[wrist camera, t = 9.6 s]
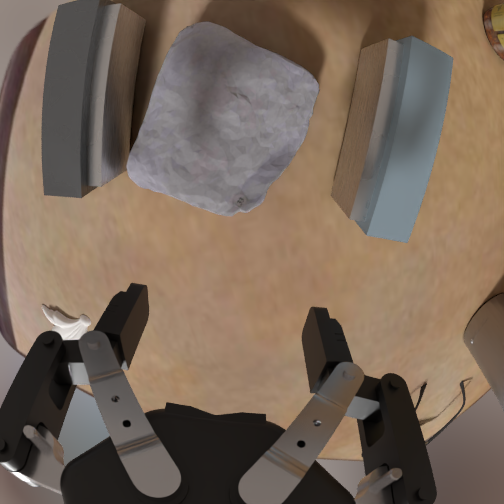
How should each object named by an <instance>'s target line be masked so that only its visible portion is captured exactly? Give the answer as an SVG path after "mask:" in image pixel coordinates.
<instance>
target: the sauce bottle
mask: <svg viewBox="0 0 504 504" xmlns="http://www.w3.org/2000/svg"><path fill="white" fill-rule="evenodd" d="M483 18H484V25H485V30H486V34H487V37H488V39H489V41H490V44H491V45H492V47H493V48H494V50H495V52H496V53H497V54H498V55H499V56H500V58H502V59H503V60H504V3H503V4H499V5H495V6H494V7H493V8H490V9H488V10H487V11H486V12H485V14H484V16H483Z"/></svg>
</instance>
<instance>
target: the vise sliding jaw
mask: <svg viewBox="0 0 504 504" xmlns="http://www.w3.org/2000/svg"><path fill="white" fill-rule="evenodd" d="M452 65H453V57H451V56H449V55H448V54H446V53H444V52H442V51H441V50H439V49H437V48H435V47H433V46H431V45H429V44H428V43H426V42H424V41H422V40H420V39H418V38H416V37H414V36H409V37H406V38H403V39H400V40H396V41H394V40H392V39H389V38H388V39H386V40H383V41H380V42H378V43H375V44H372V45H370V46H367V47H365V48H362V49H361V52H360V58H359V64H358V70H357V76H356V81H355V87H354V92H353V97H352V102H351V108H350V113H349V117H348V122H347V127H346V132H345V136H344V141H343V145H342V150H341V154H340V158H339V163H338V167H337V171H336V175H335V179H334V183H333V187H332V191H331V197H332V198H333V199H334V200H335V202H336V203H337V204H338V205H339V207H340V208H341V209H342V210H343V212H344V213H345V214H346V215H347V217H348V218H349V219H351V220H355V221H356V223H357V224H358V225H359V226H360V228H361V229H362V230H363V232H364V233H365V234H366V235H367V236H372V237H378V238H383V239H389V240H394V241H400V242H405V243H407V242H408V240H409V237H410V235H411V232H412V229H413V226H414V224H415V221H416V218H417V215H418V212H419V209H420V206H421V203H422V200H423V197H424V194H425V191H426V187H427V184H428V181H429V177H430V174H431V170H432V167H433V163H434V159H435V156H436V152H437V148H438V144H439V139H440V135H441V131H442V126H443V121H444V116H445V111H446V106H447V100H448V94H449V88H450V81H451V74H452Z"/></svg>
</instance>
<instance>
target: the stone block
mask: <svg viewBox="0 0 504 504" xmlns="http://www.w3.org/2000/svg"><path fill="white" fill-rule="evenodd" d="M318 93H319V84H318V83H317V81H316V79H315V78H314V76H313V75H312V74H311V73H310V72H309V71H308V70H306V69H305V68H303V67H302V66H300V65H298V64H296V63H294V62H293V61H291V60H289V59H287V58H285V57H283V56H281V55H279V54H277V53H275V52H271V51H269V50H268V49H264V48H261V47H259V46H256V45H254V44H253V43H251V42H249V41H248V40H246V39H244V38H243V37H241V36H239V35H237V34H235V33H233V32H232V31H230V30H229V29H227V28H225V27H223V26H220V25H218V24H214V23H211V22H208V21H207V22H200V23H195V24H193V25H191V26H187V27H186V28H185V29H183V30H182V31H180V32H179V34H178V36H177V38H176V40H175V41H174V43H173V44H172V46H171V48H170V50H169V51H168V53H167V55H166V58H165V60H164V63H163V65H162V68H161V70H160V72H159V74H158V77H157V80H156V82H155V85H154V88H153V91H152V95H151V99H150V102H149V106H148V109H147V112H146V115H145V118H144V121H143V123H142V126H141V128H140V130H139V134H138V137H137V139H136V141H135V143H134V145H133V147H132V149H131V151H130V154H129V158H128V161H127V165H126V167H127V171H128V176H129V177H130V178H131V180H133V181H134V182H135V183H136V184H137V185H138V186H140V187H142V188H144V189H150V190H152V191H154V192H160V193H163V194H166V195H169V196H171V197H174V198H176V199H178V200H181V201H184V202H186V203H189V204H191V205H192V206H195V207H199V208H202V209H205V210H207V211H210V212H213V213H215V214H218V215H224V216H233V215H234V214H236V213H237V212H239V211H240V212H244V213H247V212H249V211H251V210H252V209H253V208H255V207H257V206H259V205H260V204H261V203H262V202H263V201H264V199H265V196H266V193H267V190H268V188H269V186H270V185H271V184H272V183H273V182H274V181H275V180H277V179H278V178H279V177H280V175H281V174H282V173H283V171H284V170H285V169H286V168H287V166H288V165H289V164H290V162H291V161H292V159H293V157H294V156H295V154H296V151H297V150H298V149H299V147H300V146H301V144H302V143H303V141H304V139H305V137H306V134H307V130H308V126H309V119H310V118H311V116H312V115H313V106H314V103H315V101H316V98H317V95H318Z"/></svg>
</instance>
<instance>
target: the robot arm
mask: <svg viewBox="0 0 504 504" xmlns="http://www.w3.org/2000/svg"><path fill="white" fill-rule="evenodd" d="M148 317H149V303H148V290H147V286H146V285H142V284H136V283H131V284H130V286H129V288H128V289H127V291H126V292H123V291H120V292H119V293H118V294H116V295H115V296H114V297H113V298H112V300H111V301H110V303H109V305H108V306H107V308H106V311H104V313H103V315H102V316H101V318H100V320H99V322H98V323H97V325H96V327H95V329H94V330H93V331H89V332H87V333H85V334H83V335H82V336H81V337H80V339H79V340H63V339H62V336H61V335H60V334H59V333H58V332H56V331H46V332H43V333H42V334H40V335H39V336H38V337H37V339H36V341H35V342H34V344H33V346H32V347H31V349H30V351H29V353H28V354H27V356H26V358H25V360H24V362H23V364H22V365H21V367H20V369H19V371H18V373H17V375H16V377H15V379H14V381H13V383H12V385H11V387H10V389H9V391H8V393H7V395H6V397H5V400H4V402H3V404H2V406H1V408H0V464H1V465H2V466H3V467H4V468H5V469H6V470H7V471H9V472H10V473H12V474H13V475H14V476H16V477H17V478H19V479H21V480H23V481H25V482H26V483H28V484H29V485H31V486H34V487H39V486H43V487H45V488H48V489H50V490H52V491H54V492H57V493H60V494H62V496H63V500H64V504H433V503H434V501H435V499H436V495H437V492H436V486H435V481H434V477H433V473H432V468H431V464H430V460H429V456H428V453H427V449H426V445H425V442H424V438H423V434H422V431H421V428H420V424H419V421H418V418H417V414H416V411H415V408H414V405H413V402H412V399H411V396H410V393H409V390H408V387H407V384H406V382H405V380H404V379H403V378H402V377H400V376H399V375H397V374H393V373H388V374H385V375H384V376H383V377H382V378H381V379H377V378H373V377H369V376H366V375H364V372H363V370H362V369H361V368H360V367H359V366H358V365H356V364H354V363H353V360H352V357H351V354H350V351H349V348H348V345H347V342H346V339H345V336H344V333H343V330H342V327H341V325H340V324H339V323H338V322H337V320H336V319H331V318H330V317H329V313H328V310H327V308H321V307H311V308H310V310H309V313H308V316H307V319H306V322H305V325H304V328H303V332H302V345H303V350H304V356H305V362H306V368H307V374H308V381H309V387H310V393H315V395H314V396H313V397H312V398H311V400H310V401H309V402H308V404H307V405H306V406H305V408H304V409H303V410H302V411H301V413H300V414H299V415H298V416H297V418H296V419H295V420H294V421H293V422H292V424H291V425H290V426H289V427H288V428H287V430H285V429H283V428H282V427H280V426H278V425H276V424H274V423H272V422H269V421H266V414H256V413H243V412H241V413H233V414H224V415H213V414H210V413H207V412H205V411H202V410H199V409H196V408H194V407H191V406H185V405H179V404H174V403H168V402H167V403H166V407H165V409H157V410H153V411H149V412H146V413H144V412H143V410H142V408H141V407H140V405H139V403H138V401H137V399H136V397H135V395H134V393H133V391H132V389H131V387H130V384H129V382H128V380H127V378H126V376H125V374H124V372H123V370H122V369H124V370H128V369H129V367H130V364H131V361H132V359H133V356H134V354H135V351H136V348H137V346H138V343H139V341H140V338H141V336H142V333H143V331H144V328H145V326H146V324H147V321H148ZM464 342H465V344H466V346H467V347H468V349H469V351H470V352H471V354H472V355H473V357H474V359H475V360H476V362H477V364H478V366H479V367H480V369H481V371H482V372H483V374H484V376H485V378H486V379H487V381H488V383H489V385H490V386H491V388H492V390H493V392H494V394H495V395H496V397H497V399H498V401H499V403H500V405H501V407H502V409H503V411H504V294H500V295H497V296H495V297H493V298H492V299H490V300H489V301H488V302H487V303H486V304H484V305H483V306H482V307H481V308H480V309H479V310H478V312H477V313H476V314H475V315H474V317H473V318H472V320H471V321H470V323H469V324H468V326H467V328H466V331H465V334H464ZM77 385H90V386H91V389H92V392H93V395H94V397H95V400H96V403H97V405H98V408H99V410H100V413H101V415H102V418H103V420H104V423H105V425H106V428H107V430H108V432H109V434H110V436H109V437H108V438H106V439H105V440H103V441H102V442H100V443H98V444H97V445H95V446H94V447H92V448H91V449H89V450H88V451H86V452H85V453H83V454H81V455H80V456H78V457H76V458H75V459H73V460H72V461H70V462H69V463H68V464H67V465H66V466H65V465H64V461H63V457H64V451H63V447H62V445H61V444H60V443H59V442H58V437H59V434H60V431H61V428H62V425H63V422H64V419H65V416H66V413H67V410H68V408H69V405H70V402H71V399H72V397H73V394H74V391H75V389H76V386H77ZM344 416H348V417H352V418H357V423H358V428H359V434H360V440H361V447H362V453H363V460H364V467H365V474H366V476H365V477H364V478H363V479H362V480H361V481H360V482H359V484H358V488H357V495H356V497H355V498H353V496H352V495H351V494H350V492H348V490H346V489H345V488H344V487H343V486H342V485H341V484H340V483H339V482H338V481H337V480H336V479H334V478H333V477H332V476H331V475H330V474H329V473H328V472H327V471H326V470H325V469H324V468H323V467H322V466H321V465H320V464H319V463H318V462H317V461H316V458H317V457H318V455H319V454H320V452H321V451H322V450H323V448H324V447H325V445H326V444H327V442H328V441H329V439H330V438H331V436H332V435H333V433H334V432H335V430H336V428H337V427H338V425H339V424H340V422H341V420H342V419H343V417H344Z"/></svg>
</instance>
